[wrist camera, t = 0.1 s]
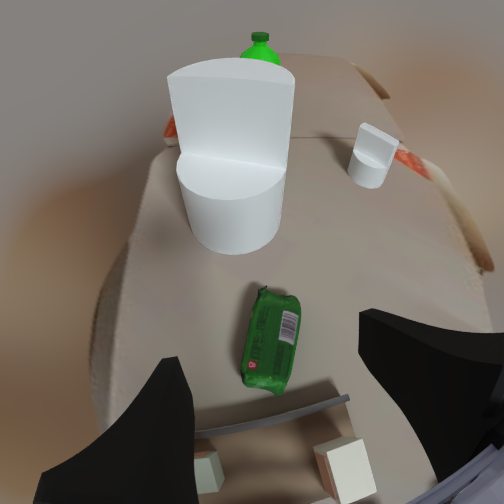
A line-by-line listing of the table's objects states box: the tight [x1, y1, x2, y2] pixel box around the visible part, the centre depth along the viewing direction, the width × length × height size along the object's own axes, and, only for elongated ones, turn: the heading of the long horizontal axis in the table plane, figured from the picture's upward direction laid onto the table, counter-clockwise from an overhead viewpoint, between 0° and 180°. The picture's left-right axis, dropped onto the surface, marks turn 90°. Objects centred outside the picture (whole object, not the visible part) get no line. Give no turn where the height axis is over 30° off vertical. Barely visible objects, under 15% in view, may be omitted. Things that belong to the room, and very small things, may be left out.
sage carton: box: [194, 451, 225, 494], centre depth 27 cm, size 5×8×8 cm, turn 103°
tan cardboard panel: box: [194, 394, 355, 504], centre depth 30 cm, size 15×28×4 cm, turn 104°
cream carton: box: [313, 436, 377, 504], centre depth 27 cm, size 5×8×8 cm, turn 14°
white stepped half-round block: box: [347, 123, 399, 188], centre depth 58 cm, size 9×9×12 cm
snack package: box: [241, 285, 301, 396], centre depth 40 cm, size 7×16×5 cm, turn 168°
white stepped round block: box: [167, 58, 295, 255], centre depth 44 cm, size 17×17×28 cm
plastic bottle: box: [240, 32, 280, 66], centre depth 66 cm, size 10×10×25 cm
